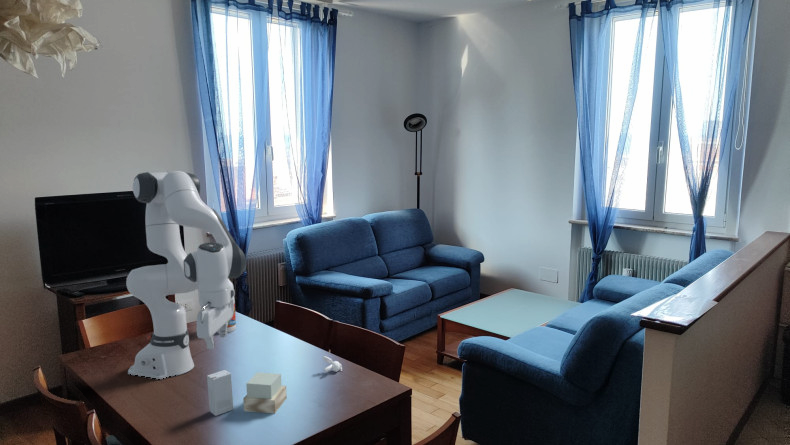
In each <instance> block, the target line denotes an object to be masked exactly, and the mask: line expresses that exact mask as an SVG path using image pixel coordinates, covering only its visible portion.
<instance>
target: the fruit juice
mask: <svg viewBox="0 0 790 445" xmlns="http://www.w3.org/2000/svg"><path fill="white" fill-rule="evenodd" d="M228 283H229V289H234V287H235V286H234V284H233V282H232V281H231V280H230V278H229V279H228ZM234 290H235V289H234ZM233 299H234V313H233V317H232V318H231V319H230V320H229V321H228V326H227V330H226V332H227V334H228V333H232V332H234V331H235V330H236V328H237V322H236V320H237V318H236V301H235V299H236V298H235V296H234V297H233ZM219 332H220V329H219V330H218V331H217V332H216V333H217V334H219ZM216 333H215V334H216Z"/></svg>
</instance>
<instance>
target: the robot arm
mask: <svg viewBox="0 0 790 445" xmlns="http://www.w3.org/2000/svg"><path fill="white" fill-rule="evenodd" d="M132 192H133V196H134V198H135V200H137V201H138V202H139V203H142V204H143V203H144V204H146V206H145V235H146V246H147V248H148V250H149V251H150V252H152V253H154V254H157V256H158V255H159V256H162V257H164V258H166V260H167V263H166V264H165V263H164V264H156V265H155V264H154V265H145V266H141V267H138V268H134V269H131V271H130V272H129V273H128V275H127V278H126V279H125V280H126V281H125V282H126V284H125V285H126V288H127V290H128V293H129V294H130V295H132V296H133V297H135V298H136V299H138V300H140V301H141V302H143V303H144V305H145V306H146V307H147V308H148V309H149V311H150V315H151V319H152V325H153V326H152V327H153V332H152V333H150V335H148V336H147V341H148V340H150V342H149V343H148V344H147V345H146V346H144V347H143V348H142V349H141V350H139V352H137V353H136V355H135V357H134V363H133V365H131V366H130V367H129V369H128V370H127V375H130V374H131V376H135V375H138V376H137V377H141V376H145V377H144V378H146V377H151V378H150V379H152V378H156V379H155V380H158V379H160V380H164V379H167V378H169V376H171V377H176V376H180V375H183V374H185V373H187V372H190V371H191V370H193V369H194V368H195V363H194V360H193V358H192V353H191V349H190V335H189V334H190V333H189V328H188V326H187V324H188V322H187V312H186V311H187V310H186V308H185V307H184V306H183V305H181V304H179V303H177V302H174V301H170V300H168V299H167V298H166V297H167V296H169V295H171V296H172V295H177V294H179V295H180V294H187V293H191V292H193V291H194V292H195V291H197V290H198V293H197V294H198V304H199V307H200V309H201V310H200V311H198V313H197V314H196V336H197V338H198V339H202V340H204V341H205V343H206V348H207V349H208V350H213V349H214V348H215V347H216V342H215V341H214V339H213V338H214V335H215V334H216V332H217V331H218V330H219V329H220V332H219V333H218V334H219V338H225V337H227V334H228V333H227V332H226V330H227V326H228V321H229V320H230V319H231V318H232V317H233V313H234V299H235V294H236V293H235V292H236V291H235V289H229V283H228V279H229V280H230V279H238V278H240V276H242V274H243V273H244V272H245V270H246V268H247V259H246V258H247V257H246V255H245V253H244V251H243V250H242V249H241V248H240V246H239V245H238V244H237V243H236V241H235V239H234V237H233V236H232V234H231V232H230V231H229V229H228V228H227V226H226V223H224V221H223V219H222V218H221V216H220V215H219V214H218V212H217V210H216V209H214V208H211V207H210V206H208V205H207V204H206V203H205V202H204V201H203V200H202V198H201V197H200V194H201V183H200V180H199V177H198V176H197V175H195V174H194V173H190V172H185V171H182V170H173V171H157V172H147V171H146V172H142V173H141V172H139V173H138V174H137V175H136V176H135V177H134V179H133V182H132ZM180 226H182V227H187V228H192V229H193V228H194V229H199V230H201V231H202V230H203V231H205V232H208V233H209V234H210V235H211V236H212V237H213V238H214V240H215V242H213V241H212V242H210V241H209V242H204V243H202V244H199V245H198V246H197V249H196V250H195V251H192V252H190V253H186V251H185V249H184V246H183V243H182V239H181V233H180V231H181V230H180ZM233 297H234V299H233ZM175 375H176V376H175ZM166 377H167V378H166ZM163 378H164V379H163Z"/></svg>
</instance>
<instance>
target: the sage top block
mask: <svg viewBox="0 0 790 445" xmlns="http://www.w3.org/2000/svg"><path fill="white" fill-rule="evenodd" d="M245 385H246V395H247V397H251V398H264V399H272V398H273V397H274V396H275V395H276V393H277V392H278V391H279V390H280V389H281V387H282V386H283V385H282V374H281V373H273V372H272V373H270V372H259V371H258V372H256V373H255V374H254V375H253V376H252V377H251V378H250V379H249V380H248V381H247V382H246V383H245ZM281 385H282V386H281Z"/></svg>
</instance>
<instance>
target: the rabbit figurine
mask: <svg viewBox="0 0 790 445" xmlns="http://www.w3.org/2000/svg"><path fill="white" fill-rule="evenodd" d="M322 359H323V361H325V362H326V363H329V365H328V366H326V367H325V368H324V369H323V370H324V372H330V371H331V369H332V370H333V372H335V373H337V372H339V370H340V372H343V367H342V363H340V362H339V361H337V360H334V361H333V359H331V357H328V356H326V355H324V356H323V355H322Z"/></svg>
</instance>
